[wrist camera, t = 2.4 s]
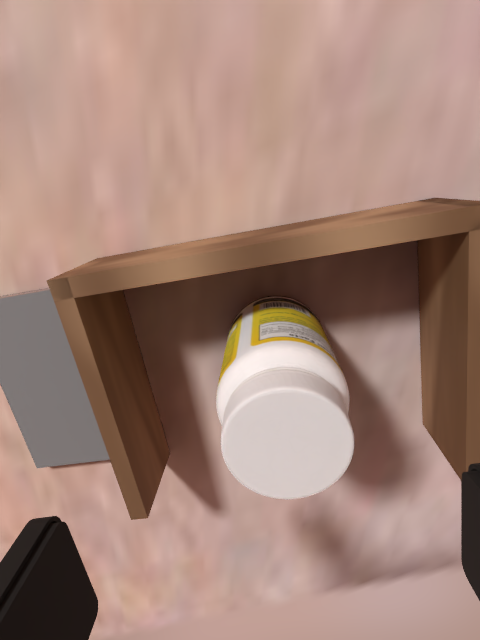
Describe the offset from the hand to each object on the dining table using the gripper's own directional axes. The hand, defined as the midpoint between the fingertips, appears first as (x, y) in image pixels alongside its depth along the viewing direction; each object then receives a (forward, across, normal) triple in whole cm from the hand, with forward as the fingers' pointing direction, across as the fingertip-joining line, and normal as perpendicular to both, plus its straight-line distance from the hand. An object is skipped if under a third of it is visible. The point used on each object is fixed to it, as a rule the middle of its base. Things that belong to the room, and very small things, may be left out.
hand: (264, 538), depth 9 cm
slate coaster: (+11, +11, 0) cm, 16 cm away
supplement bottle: (+11, -1, -1) cm, 11 cm away
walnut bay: (+11, -1, 0) cm, 11 cm away
